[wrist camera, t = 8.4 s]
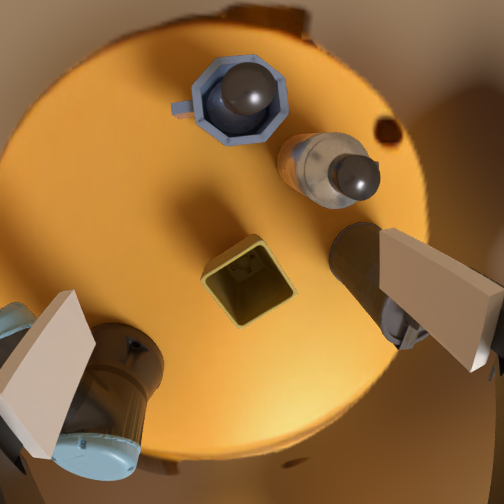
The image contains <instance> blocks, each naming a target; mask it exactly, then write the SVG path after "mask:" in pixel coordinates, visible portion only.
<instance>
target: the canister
mask: <svg viewBox="0 0 504 504" xmlns="http://www.w3.org/2000/svg"><path fill="white" fill-rule="evenodd" d="M380 230H382V229H381V228H379V227H378V226H376V225H375V224H372V223H356V224H353V225H351V226H349V227H347V228H346V229H344V230H343V231H342V232H341V233H340V234H339V235H338V236H337V238H336V239H335V241H334V243H333V245H332V248H331V252H330V260H329V262H330V267H331V270H332V272H333V274H334V275H335V277H336V278H337V279H338V280H339V281H341V282H342V283H343V284H344V285H345V286H346V288H347V289H348V290H349V291H350V292H351V294H352V295H353V296H354V297H355V298H356V300H357V301H358V302H359V303H360V304H361V306H362V307H363V308H364V309H365V310H366V312H367V313H368V314H369V315H370V316H371V318H372V319H373V320H374V321H375V322H376V324H377V325H378V326H379V327H380V329H381V331H382V334H383V335H384V336H385V338H386V339H387V340H388V341H390V342H392V343H393V344H394V345H395V347H396V348H397V349H398V350H400V349H411V348H413V345H414V343H416V342H419V341H421V340H422V339H424V338H426V337H427V336H428V335H430V333H429V332H428V331H427V330H425V329H424V328H423V327H422V326H421V325H420V324H419V323H418V322H417V321H416V320H415V319H413V318H412V317H411V316H410V315H409V314H408V313H407V312H406V311H405V310H404V309H402V308H401V307H400V306H399V305H398V304H397V303H396V302H395V301H394V300H392V299H391V298H390V297H389V296H388V295H387V294H386V293H384V292H383V291H382V290H381V289H380V288H379V285H380V233H379V231H380Z"/></svg>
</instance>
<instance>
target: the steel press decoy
mask: <svg viewBox="0 0 504 504" xmlns="http://www.w3.org/2000/svg"><path fill="white" fill-rule="evenodd" d="M277 169H278V172H279V174H280V176H281V178H282V179H283V181H284V182H285V183H286V184H287V185H289V186H290V187H292V188H293V189H295V190H296V191H298V192H300V193H301V194H303V195H304V196H306V197H307V198H309V199H311V200H312V201H314V202H315V203H317V204H318V205H320V206H323V207H325V208H329V209H341V208H345V207H348V206H350V205H352V204H354V203H355V202H357V201H362V200H366V199H368V198H370V197H371V196H373V195H374V194H375V192H376V191H377V189H378V187H379V184H380V171H379V163H378V162H377V161H373V160H372V159H371V158H369V155H368V153H367V151H366V150H365V148H364V147H363V145H362V144H361V143H360V142H359V141H358V140H356V139H355V138H353V137H352V136H350V135H347V134H344V133H304V134H297V135H294V136H292V137H290V138H289V139H287V140H286V141H285V142H284V143H283V145H282V146H281V148H280V149H279V152H278V155H277Z"/></svg>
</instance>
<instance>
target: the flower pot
mask: <svg viewBox="0 0 504 504" xmlns="http://www.w3.org/2000/svg"><path fill="white" fill-rule="evenodd" d="M251 254H254V257H253V258H251V257H250V256H251ZM232 266H235V269H234V270H233V269H232ZM247 269H251V271H250V272H247ZM200 281H201V283H202V284H203V286H204V287H205V288H206V290H207V291H208V292H209V293H210V294H211V296H212V297H213V298H214V299H215V301H216V302H217V303H218V304H219V306H220V307H221V308H222V309H223V311H224V312H225V313H226V314H227V316H228V317H229V318H230V320H231V321H232V322H233V324H234V325H235V326H236V327H237V328H239V329H243V328H245V327H246V326H248V325H250V324H251V323H253V322H254V321H256V320H258V319H259V318H261V317H262V316H264V315H265V314H267V313H269V312H270V311H272V310H274V309H276V308H277V307H279V306H281V305H283V304H284V303H286V302H288V301H290V300H291V299H293V298H294V297H295V296H296V295H297V294H298V293H297V291H296V289H295V288H294V286H293V285H292V283H291V281H290V280H289V278H288V277H287V275H286V274H285V272H284V271H283V269H282V268H281V266H280V264H279V263H278V261H277V260H276V258H275V257H274V255H273V253H272V252H271V250H270V249H269V247H268V245H267V244H266V243H265V241H264V240H263V239H261V238H260V237H259V236H258V235H256V234H251V235H249V236H247V237H246V238H244V239H243V240H241V241H240V242H238V243H237V244H235V245H234V246H232V247H231V248H229V249H227V250H226V251H224V252H223V253H221V254H219V255H218V256H216V257H214V258H213V259H211V260H210V261H209V262H208V263H207V264H206V266H205V268H204V271H203V273H202V276H201V279H200Z"/></svg>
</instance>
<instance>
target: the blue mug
mask: <svg viewBox="0 0 504 504" xmlns="http://www.w3.org/2000/svg"><path fill="white" fill-rule="evenodd" d="M243 62H254V63H258V64H261V65H262V66H264V67H266V68H267V69H268V70H269V71H270V72H271V73H272V75H273V77H274V79H275V82H276V93H275V96H274V99H273V100H272V102H271V103H270V104H269V105H268V106H267V107H266V109H265V114H264V116H263V118H262V120H261V121H260V123H259V124H258V125H257V126H256V127H254V128H253V129H251V130H249V131H247V132H244V133H238V134H234V133H228V132H225V131H222V130H221V129H219V128H218V127H216V126H215V125H214V124H213V122H212V121H211V119H210V117H209V115H208V111H207V101H208V97H209V94H210V93H211V91H212V90H213V88H214V87H215V86H216V85H217V84H219V83H220V82H222V81H223V78H224V76H225V74H226V73H227V71H228V70H229V69H230V68H232V67H233V66H235V65H237V64H239V63H243ZM191 88H192V97H193V100H188V101H182V102H176V103H171V110H172V115H173V116H175V117H176V118H178V119H183V118H189V117H195V123H196V124H197V125H198V126H199V127H200V128H201V129H203V130H204V131H205V132H207V133H208V134H209V135H210V136H212V137H213V138H215V139H216V140H218V141H219V142H220V143H221V144H223V145H225V146H234V145H243V144H252V143H262V142H266V141H267V139H268V138H269V137H270V136H271V135H272V133H273V132H274V131H275V130H276V129H277V128H278V126H279V125H280V124H281V123H282V122H283V120H284V119H285V118H286V117H287V116H288V115H289V114H288V113H289V106H288V97H287V89H286V80H285V78H284V76H283V75H281V74H280V73H279V72H278V71H276V70H275V69H274V68H273V67H271V66H270V65H269V64H267V63H266V62H265V61H264V60H262V59H261V58H260V57H258V56H257V55H255V54H253V55H239V56H228V57H218V58H217V59H215V60H214V61H213V62H212V63H211V64H210V65H209V66H208V68H207V69H206V70H205V71H204V72H203V73H202V74H201V76H200V77H199V78H198V79H197V80H196V81H195V83H194V84H193V85H192V87H191Z"/></svg>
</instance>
